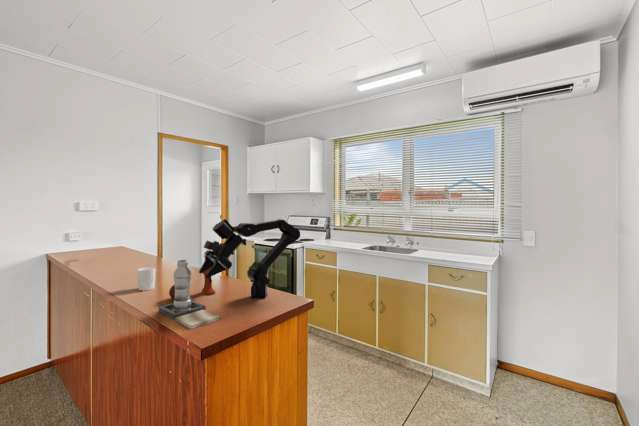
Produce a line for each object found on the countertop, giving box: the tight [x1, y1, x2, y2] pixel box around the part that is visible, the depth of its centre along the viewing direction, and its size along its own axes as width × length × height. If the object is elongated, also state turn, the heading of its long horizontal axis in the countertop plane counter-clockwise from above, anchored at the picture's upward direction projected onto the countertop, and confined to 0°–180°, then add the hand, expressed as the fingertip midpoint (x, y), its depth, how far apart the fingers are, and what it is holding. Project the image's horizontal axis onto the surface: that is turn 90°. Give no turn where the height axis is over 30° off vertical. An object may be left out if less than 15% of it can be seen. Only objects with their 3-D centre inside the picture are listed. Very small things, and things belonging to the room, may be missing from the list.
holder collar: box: [158, 299, 207, 321], centre depth 117 cm, size 12×12×2 cm
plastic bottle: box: [172, 259, 192, 313], centre depth 117 cm, size 6×7×20 cm
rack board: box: [174, 310, 221, 330], centre depth 108 cm, size 11×11×1 cm
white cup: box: [136, 266, 157, 292], centre depth 147 cm, size 8×8×10 cm
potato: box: [168, 284, 175, 300], centre depth 130 cm, size 8×12×8 cm, turn 53°
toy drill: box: [201, 267, 216, 296], centre depth 138 cm, size 5×19×15 cm, turn 47°
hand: (202, 275), depth 122 cm, fingers open, 9 cm apart
